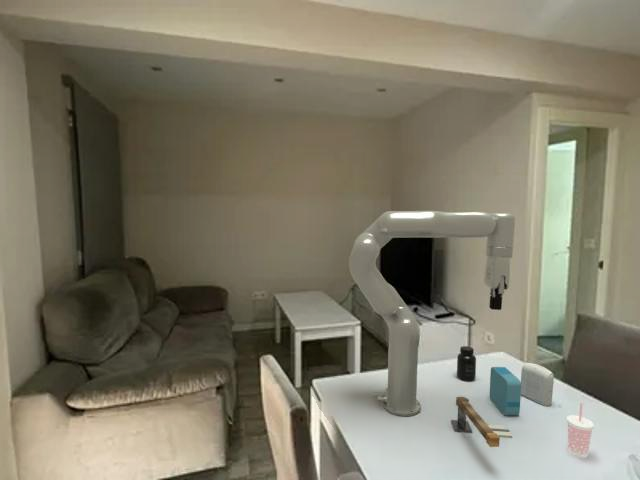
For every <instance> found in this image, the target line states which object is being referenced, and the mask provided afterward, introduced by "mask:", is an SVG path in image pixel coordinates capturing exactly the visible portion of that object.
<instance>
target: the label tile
mask: <svg viewBox="0 0 640 480" xmlns="http://www.w3.org/2000/svg"><path fill="white" fill-rule="evenodd" d="M487 425H488V426H489V427H490V429H491V430H492V431H493V432H494V433H496V434H497V435H498V436H499V437H500V438H508V439H509V438H510V439H512V438H513V435H512V434H511V432H510V430H509V429H508V426H506V425H498V424H497V425H494V424H487Z"/></svg>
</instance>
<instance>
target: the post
mask: <svg viewBox="0 0 640 480" xmlns="http://www.w3.org/2000/svg"><path fill="white" fill-rule="evenodd" d="M469 422H470V421H468V420H467V415H466V414H465V413H464V411H463V410H462V409H461V408H460V407H458V406H457V419H451V420H450V423H451V425H452V428H453V431H454V432H455V433H466V434H468V433H469V434H473V429H472V427H471V425H470V423H469Z"/></svg>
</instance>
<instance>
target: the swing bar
mask: <svg viewBox="0 0 640 480" xmlns="http://www.w3.org/2000/svg"><path fill="white" fill-rule="evenodd" d="M455 401H456V402H455V405H456V407H457V408H458V407H460V408H461V409H462V410H463V411H464V413H465V414H466V417H467V418H468V419H469V420H470V421H471V423H472V424H473V425H474V427H475V428H476V429H477V431H478V432H479V433H480V435H482V437H483V438H484V440H485V443H486V445H488V446H489V447H490V448H499V447H500V439H501V437H499V436H498V435H497V434H496V433H494V432H493V431H492V430H491V429H490V427H489V426H488V425H489V424H487V423H486V421H485V420H484V418H483V417H481V415H480V414H479V413H478V412H477V411H476V409H475V408H474V406H472V404H471V403H470V399H469V398H467V397H466V396H457V397H455Z"/></svg>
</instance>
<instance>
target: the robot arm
mask: <svg viewBox="0 0 640 480" xmlns="http://www.w3.org/2000/svg"><path fill="white" fill-rule="evenodd" d="M515 222H516V217H515V215H514V214H512V213H508V212H492V213H488V212H485V211H484V212H483V211H470V212H450V211H449V212H446V211H438V210H402V211H401V210H400V211H399V210H397V211H396V210H393V211H392V210H389V211H388V210H387V211H385V212H383V213H382V214H381V215H380V216H378V218H377V219H376V220H374V222H373V223H371V224H370V225H369V226H368V227H367V228H366V229H364V231H363V232H362V233H360V234H359V235H358V236H357V238H356V239H355V241H354V243H353V248H352V249H351V252H350V255H349V260H348V267H349V268H348V269H349V272H350V275H351V277H352V279H353V281H354V282H355V284H356V285H357V286H358V288H359V290H360V291H361V293H362V294H363V295H364V297H365V298H366V300H367V301H368V303H369V305H370V306H371V308H372V309H373V310H374V313H377V314H378V315H380V317H382V319H383V321H384V322H385V323H386V325H387V327H388V333H389V334H388V335H389V337H388V349H387V351H388V356H387V361H388V362H387V363H388V364H387V387H386V389H385V391H373V398H375V399H376V398H377V401H379V402H382V407H383V409H384V410H386V412H389V413H391V414H392V415H396V416H401V417H410V416H415V415H417V414H419V413H420V412H421V410H422V404H421V401H419V400H418V399H417V394H418V393H417V392H418V391H417V390H418V387H417V386H418V364H419V363H418V361H419V360H418V359H419V356H418V355H419V347H420V346H419V345H420V337H421V331H420V326H419V323H418V321H417V319H416V318H415V316H414V314H413V312H412V311H411V309H410V308H409V307H408V306H407V305H408V304H406V303H405V301H404V300H403V298H402V297H401V296H400V294H399V293H398V291H397V290H396V288H395V287H394V286H392V285H391V284H390V283H389V282H388V281H387V280H386V279H385V277H383V275H382V273H381V272H380V270H379V269H378V267H377V264H376V261H377V259H378V256H379V255H380V251H381V249H382V248H383V247H385V246H386V244H388V243H389V242H390V241H391V240H392V239H395V238H397V239H398V238H432V239H433V238H436V239H438V238H441V239H442V238H467V239H469V238H485V237H487V239H486V253H485V256H486V263H485V269H484V279H483V280H484V284H485V285H486V286H487V287H489V289H490V290H489V295H490V296H489V309H490V310H494V311H495V310H497V311H500V310H502V306H503V297H504V296H503V295H505V290H508V289H509V286H510V276H511V275H510V274H511V273H510V272H511V269H510V268H511V265H510V264H511V262H510V261H511V260H510V259H513V252H514V251H513V250H514V238H515V226H516V225H515V224H516V223H515Z"/></svg>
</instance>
